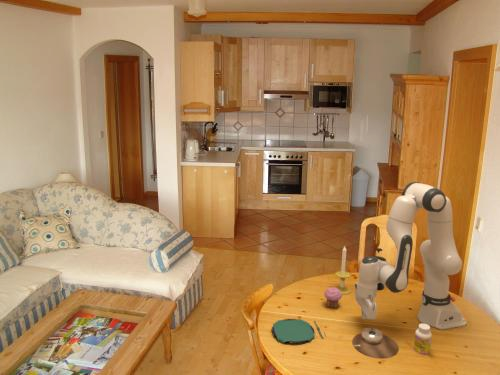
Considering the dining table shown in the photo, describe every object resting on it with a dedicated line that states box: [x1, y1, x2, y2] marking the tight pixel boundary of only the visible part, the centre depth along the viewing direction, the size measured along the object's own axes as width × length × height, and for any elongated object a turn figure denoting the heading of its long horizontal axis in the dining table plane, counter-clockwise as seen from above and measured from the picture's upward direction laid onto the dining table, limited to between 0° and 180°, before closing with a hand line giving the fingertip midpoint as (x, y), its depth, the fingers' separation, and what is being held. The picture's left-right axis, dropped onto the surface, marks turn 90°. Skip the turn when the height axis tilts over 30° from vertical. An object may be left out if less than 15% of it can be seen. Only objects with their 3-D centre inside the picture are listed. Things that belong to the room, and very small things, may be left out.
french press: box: [372, 247, 387, 291], centre depth 257 cm, size 12×9×23 cm
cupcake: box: [324, 286, 343, 309], centre depth 237 cm, size 9×9×10 cm
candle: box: [334, 245, 352, 295], centre depth 252 cm, size 10×10×27 cm
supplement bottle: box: [413, 323, 433, 356], centre depth 197 cm, size 7×7×13 cm
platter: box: [351, 332, 400, 360], centre depth 202 cm, size 20×20×1 cm
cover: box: [361, 327, 384, 345], centre depth 206 cm, size 9×9×3 cm
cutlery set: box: [271, 318, 327, 344], centre depth 214 cm, size 20×30×2 cm, turn 98°
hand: (364, 317), depth 214 cm, fingers closed
